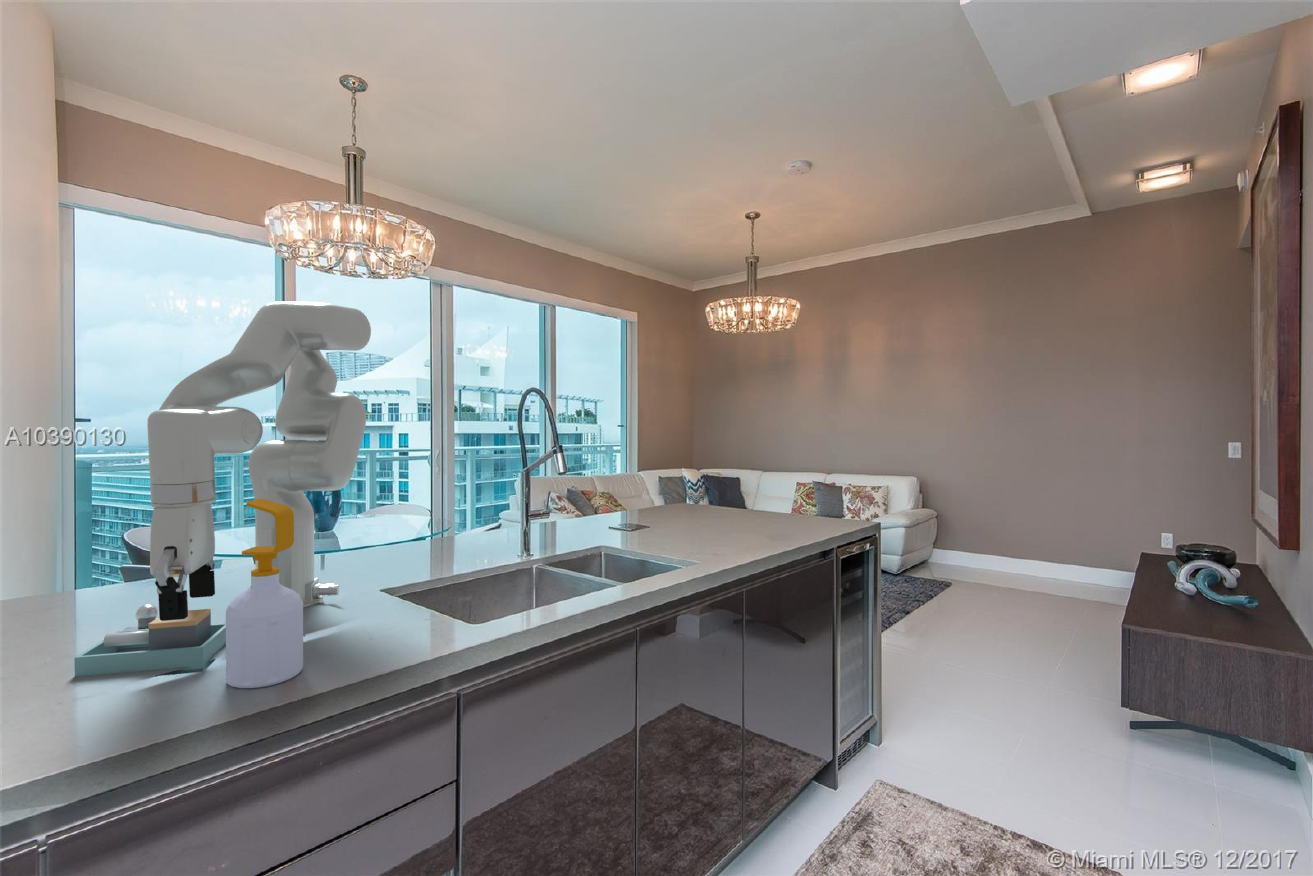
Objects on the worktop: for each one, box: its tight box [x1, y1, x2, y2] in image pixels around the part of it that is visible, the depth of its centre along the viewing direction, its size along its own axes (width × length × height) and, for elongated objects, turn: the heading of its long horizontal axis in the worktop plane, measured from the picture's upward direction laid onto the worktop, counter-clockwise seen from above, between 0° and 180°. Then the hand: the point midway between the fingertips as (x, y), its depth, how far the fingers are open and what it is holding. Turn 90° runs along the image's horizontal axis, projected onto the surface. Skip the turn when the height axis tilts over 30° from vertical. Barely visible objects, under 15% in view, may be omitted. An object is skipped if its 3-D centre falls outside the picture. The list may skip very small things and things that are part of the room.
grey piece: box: [122, 603, 159, 631], centre depth 97 cm, size 9×9×6 cm
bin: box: [73, 622, 226, 677], centre depth 89 cm, size 15×11×4 cm
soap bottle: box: [225, 499, 304, 689], centre depth 85 cm, size 9×9×25 cm
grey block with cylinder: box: [103, 608, 212, 650], centre depth 88 cm, size 12×6×6 cm, turn 108°
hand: (189, 607), depth 91 cm, fingers open, 9 cm apart
